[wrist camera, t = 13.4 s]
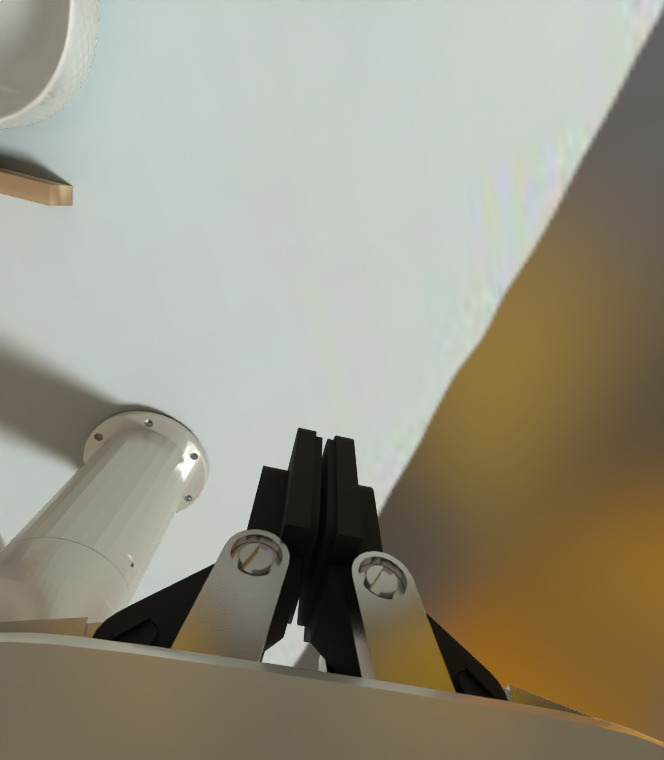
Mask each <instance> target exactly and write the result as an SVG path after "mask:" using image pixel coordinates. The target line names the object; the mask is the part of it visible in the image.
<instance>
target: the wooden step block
mask: <svg viewBox="0 0 664 760" xmlns="http://www.w3.org/2000/svg"><path fill="white" fill-rule="evenodd" d="M0 193H1V194H5V195H9V196H13V197H17V198H21V199H25V200H29V201H33V202H37V203H41V204H45V205H49V206H70V205H72V186H70V185H66V184H62V183H59V182H55V181H51V180H47V179H43V178H39V177H35V176H31V175H27V174H23V173H19V172H16V171H12V170H8V169H4V168H0Z"/></svg>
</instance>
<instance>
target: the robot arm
mask: <svg viewBox="0 0 664 760" xmlns="http://www.w3.org/2000/svg"><path fill="white" fill-rule="evenodd" d="M83 461H84V465H83V466H82V467H81V468H80V469H79V470H78V471H77V472H76V473H75V474H74V475H73V476H72V478H71V479H70V480H69V481H68V482H67V483H66V484H65V485H64V486H63V487H62V488H61V489H60V490H59V491H58V492H57V493H56V494H55V495H54V496H53V498H52V499H51V500H50V501H49V502H48V503H47V504H46V505H45V506H44V507H43V508H42V509H41V510H40V511H39V512H38V513H37V514H36V515H35V517H34V518H33V519H32V520H31V521H30V522H29V523H28V524H27V525H26V526H25V527H24V528H23V529H22V530H21V531H20V532H19V533H18V534H17V535H16V537H15V538H14V539H13V540H12V541H11V542H10V543H9V544H8V545H7V546H6V547H5V548H4V550H3V551H2V552H1V553H0V760H664V743H663V742H661V741H658V740H656V739H653V738H651V737H649V736H646V735H644V734H641V733H639V732H637V731H634V730H632V729H629V728H626V727H623V726H620V725H616V724H613V723H610V722H607V721H603V720H599V719H595V718H592V717H590V716H587V715H585V714H582V713H579V712H577V711H575V710H572V709H570V708H567V707H565V706H562V705H560V704H557V703H555V702H552V701H550V700H547V699H545V698H543V697H540V696H537V695H535V694H533V693H530V692H528V691H525V690H523V689H520V688H518V687H515V686H513V685H510V684H509V685H508V686H507V688H506V689H505V688H502V687H501V685H500V684H499V682H498V681H497V680H496V679H495V677H494V676H493V675H492V674H491V673H490V672H489V671H488V670H487V669H486V668H485V667H484V666H483V665H482V664H481V663H479V662H478V661H477V660H476V659H475V658H474V657H473V656H472V655H471V654H470V653H469V652H468V651H467V650H466V649H464V648H463V647H462V646H461V645H460V644H459V643H458V642H457V641H456V640H455V639H454V638H453V637H451V636H450V635H449V634H448V633H447V632H446V631H445V630H444V629H443V628H442V627H441V626H440V625H438V624H437V623H436V622H435V621H434V620H433V619H432V618H431V617H430V616H429V615H428V614H427V613H426V612H425V610H424V607H423V605H422V602H421V599H420V597H419V594H418V591H417V589H416V586H415V583H414V581H413V578H412V576H411V574H410V573H409V571H408V569H407V568H406V567H405V566H404V565H403V564H402V563H401V562H400V561H398V560H397V559H395V558H394V557H392V556H390V555H388V554H386V553H383V551H382V545H381V537H380V530H379V524H378V517H377V510H376V503H375V497H374V491H373V489H372V488H371V487H366V486H361V485H358V477H357V467H356V457H355V446H354V440H353V439H350V438H345V437H340V436H335V437H334V440H331V439H327V442H326V445H325V448H324V452H323V456H322V438H321V437H317V436H316V431H312V430H307V429H302V428H298V431H297V434H296V439H295V443H294V447H293V451H292V455H291V459H290V463H289V467H288V471H287V470H282V469H277V468H272V467H267V466H263V469H262V473H261V477H260V481H259V485H258V489H257V493H256V496H255V500H254V504H253V508H252V512H251V516H250V520H249V524H248V528H247V530H245V531H242V532H239V533H237V534H235V535H234V536H232V537H231V538H230V539H229V540H228V542H227V543H226V544H225V546H224V548H223V550H222V552H221V554H220V555H219V557H218V559H217V561H216V563H215V564H213V565H211V566H209V567H207V568H205V569H203V570H201V571H199V572H197V573H195V574H193V575H191V576H189V577H187V578H185V579H183V580H181V581H179V582H177V583H175V584H173V585H171V586H169V587H167V588H165V589H163V590H160V591H158V592H156V593H154V594H152V595H150V596H148V597H146V598H144V599H142V600H140V601H138V602H136V603H134V604H132V605H130V606H128V605H129V603H130V601H131V599H132V597H133V595H134V593H135V591H136V589H137V587H138V585H139V583H140V581H141V579H142V577H143V575H144V573H145V571H146V569H147V567H148V565H149V563H150V562H151V560H152V558H153V556H154V554H155V552H156V550H157V548H158V546H159V544H160V542H161V540H162V538H163V536H164V534H165V532H166V530H167V528H168V526H169V524H170V522H171V520H172V518H173V516H174V514H175V513H177V512H179V511H181V510H184V509H186V508H187V507H189V506H190V505H191V504H193V503H194V502H195V501H196V499H197V498H198V497H199V496H200V494H201V492H202V491H203V489H204V486H205V484H206V481H207V477H208V461H207V458H206V454H205V452H204V450H203V448H202V446H201V444H200V442H199V441H198V440H197V439H196V438H195V436H194V435H193V434H192V433H191V432H190V431H189V430H187V429H186V428H185V427H184V426H183V425H181V424H179V423H178V422H176V421H175V420H173V419H170V418H168V417H166V416H163V415H160V414H156V413H152V412H145V411H130V412H124V413H120V414H116V415H114V416H112V417H110V418H108V419H106V420H105V421H103V422H102V423H101V424H100V425H99V426H97V428H96V429H95V430H94V431H93V432H92V433H91V434H90V436H89V438H88V439H87V441H86V444H85V448H84V452H83ZM298 600H299V607H298V619H297V624H298V625H300V626H305V629H304V642H309V643H312V645H313V646H314V647H315V648H316V649H317V651H318V652H319V653H320V654H321V655H320V658H319V671H315V670H308V669H302V668H295V667H289V666H282V665H276V664H269V663H263V662H262V660H263V656H264V653H265V651H266V650H267V649H269V648H270V647H271V646H273V645H274V644H275V643H277V642H278V641H280V640H281V639H282V638H283V637H284V634H285V630H286V627H287V623H288V624H291V623H292V620H293V616H294V613H295V610H296V606H297V603H298Z"/></svg>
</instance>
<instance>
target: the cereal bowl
mask: <svg viewBox="0 0 664 760" xmlns="http://www.w3.org/2000/svg"><path fill="white" fill-rule="evenodd" d="M98 12H99V8H98V0H0V129H9V128H16V127H22V126H26V125H31V124H34V123H36V122H39V121H42V120H44V119H46V118H48V117H50V116H52V115H53V114H55V113H56V112H57V111H59V110H60V109H62V108H63V107H64V106H65V105H66V104H67V103H68V102H69V101H70V100H72V98H73V97H74V95H75V94H76V93H77V92H78V90H79V88H80V87H81V85H82V83H83V82H84V81H85V78H86V76H87V73H88V71H89V69H90V67H91V63H92V61H93V57H94V56H95V48H96V46H97V39H98V23H99V15H98Z"/></svg>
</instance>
